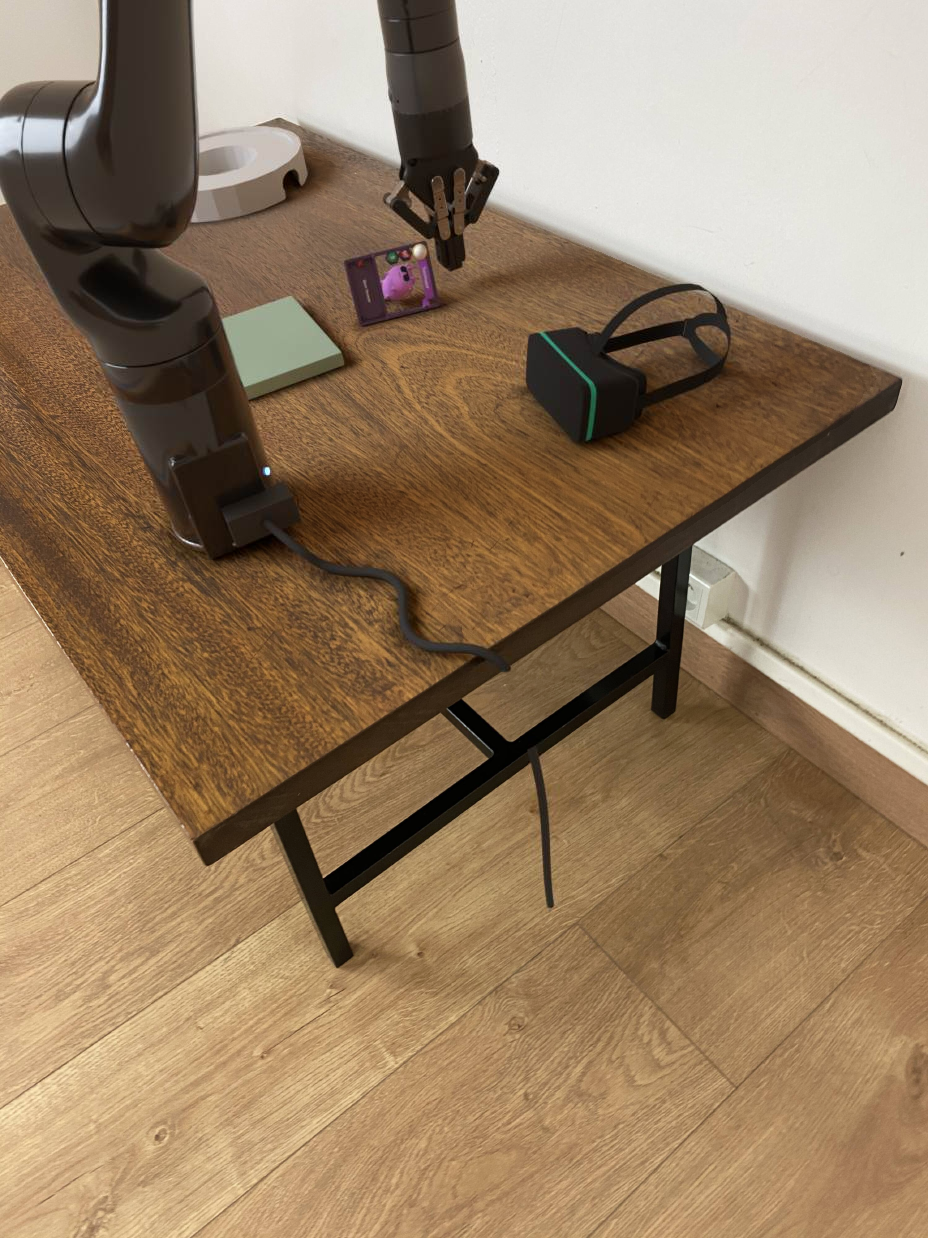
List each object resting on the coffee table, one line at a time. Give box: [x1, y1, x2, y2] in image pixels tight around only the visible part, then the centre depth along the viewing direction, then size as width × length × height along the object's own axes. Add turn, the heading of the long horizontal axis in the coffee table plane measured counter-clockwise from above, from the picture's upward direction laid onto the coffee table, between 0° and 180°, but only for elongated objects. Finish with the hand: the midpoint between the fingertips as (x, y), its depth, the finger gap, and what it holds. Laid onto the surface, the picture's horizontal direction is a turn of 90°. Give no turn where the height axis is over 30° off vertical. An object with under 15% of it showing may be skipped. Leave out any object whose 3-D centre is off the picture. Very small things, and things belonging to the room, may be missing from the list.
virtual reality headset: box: [525, 282, 732, 444], centre depth 80 cm, size 11×17×10 cm, turn 112°
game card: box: [343, 240, 441, 327], centre depth 97 cm, size 7×5×9 cm
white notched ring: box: [190, 125, 309, 223], centre depth 127 cm, size 23×23×4 cm
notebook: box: [222, 295, 345, 401], centre depth 95 cm, size 15×11×2 cm
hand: (453, 266), depth 99 cm, fingers closed
